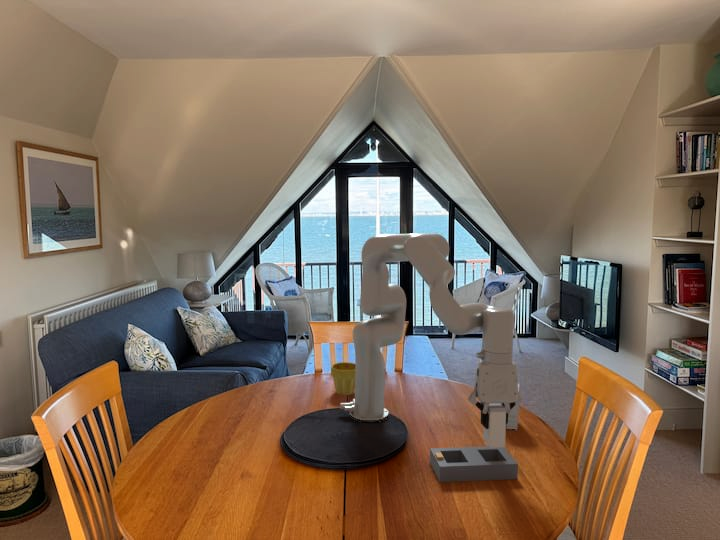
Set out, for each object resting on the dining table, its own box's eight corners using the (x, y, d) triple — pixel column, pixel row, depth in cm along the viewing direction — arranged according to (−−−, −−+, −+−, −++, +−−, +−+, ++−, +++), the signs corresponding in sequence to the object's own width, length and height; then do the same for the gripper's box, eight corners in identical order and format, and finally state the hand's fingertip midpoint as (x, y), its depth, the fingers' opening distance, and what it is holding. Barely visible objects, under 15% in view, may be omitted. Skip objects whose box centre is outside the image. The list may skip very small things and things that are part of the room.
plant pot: (359, 397, 188) (359, 370, 186) (329, 396, 188) (330, 370, 187) (359, 387, 198) (360, 362, 197) (331, 387, 198) (332, 361, 197)
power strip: (439, 482, 131) (440, 464, 130) (429, 462, 141) (430, 446, 140) (517, 479, 133) (518, 461, 132) (502, 460, 143) (503, 443, 142)
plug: (489, 447, 133) (490, 408, 133) (483, 440, 138) (483, 402, 137) (505, 447, 133) (505, 407, 133) (497, 439, 138) (498, 402, 138)
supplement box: (518, 421, 169) (520, 383, 167) (517, 430, 162) (519, 390, 160) (494, 418, 171) (496, 380, 170) (492, 427, 164) (494, 387, 163)
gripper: (469, 361, 129) (466, 433, 131) (535, 360, 131) (531, 431, 133) (460, 353, 136) (457, 421, 138) (522, 352, 138) (519, 419, 140)
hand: (494, 425), depth 136 cm, fingers closed on plug, 4 cm apart
